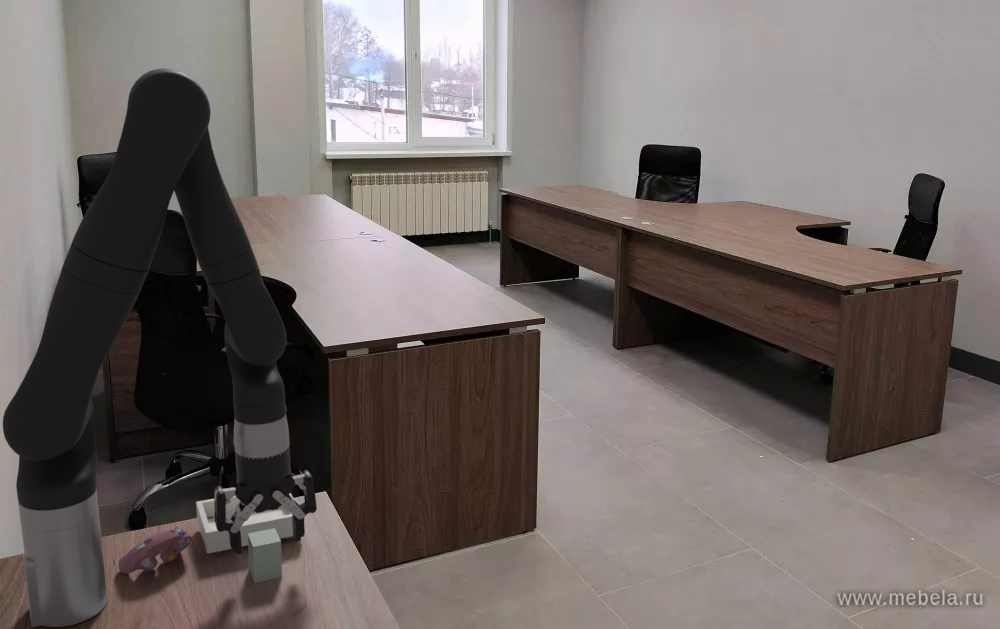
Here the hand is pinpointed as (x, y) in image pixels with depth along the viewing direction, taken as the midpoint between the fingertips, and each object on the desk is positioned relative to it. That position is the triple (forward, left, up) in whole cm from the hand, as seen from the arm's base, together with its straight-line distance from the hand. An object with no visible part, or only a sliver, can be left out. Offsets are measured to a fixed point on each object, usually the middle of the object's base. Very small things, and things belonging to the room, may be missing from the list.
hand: (268, 545), depth 122 cm
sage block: (0, 0, -5) cm, 5 cm away
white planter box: (-1, +12, -5) cm, 13 cm away
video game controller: (-15, +9, -5) cm, 18 cm away
